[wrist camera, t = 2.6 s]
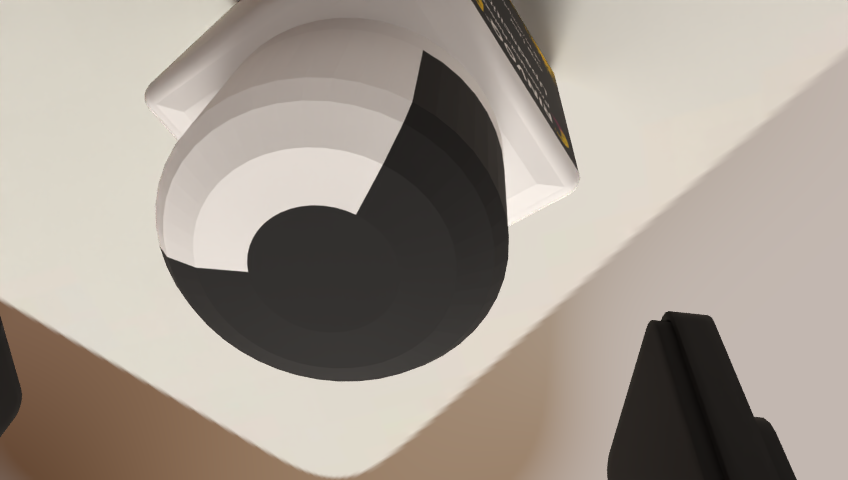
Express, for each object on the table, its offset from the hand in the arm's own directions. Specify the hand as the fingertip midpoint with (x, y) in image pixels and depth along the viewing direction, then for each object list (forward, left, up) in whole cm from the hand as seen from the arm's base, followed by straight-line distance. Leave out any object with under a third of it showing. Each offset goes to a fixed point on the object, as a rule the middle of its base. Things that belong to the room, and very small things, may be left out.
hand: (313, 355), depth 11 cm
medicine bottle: (0, 0, -14) cm, 14 cm away
